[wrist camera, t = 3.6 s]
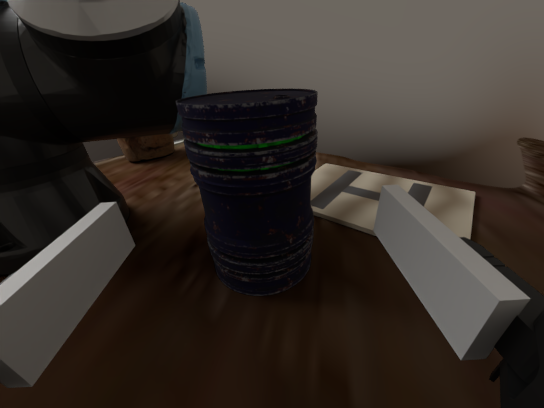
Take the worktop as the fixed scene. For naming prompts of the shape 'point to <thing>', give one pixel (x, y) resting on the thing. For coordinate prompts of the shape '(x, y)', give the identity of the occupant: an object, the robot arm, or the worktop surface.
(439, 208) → the board
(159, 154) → the block
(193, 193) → the worktop surface
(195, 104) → the dark blue can
